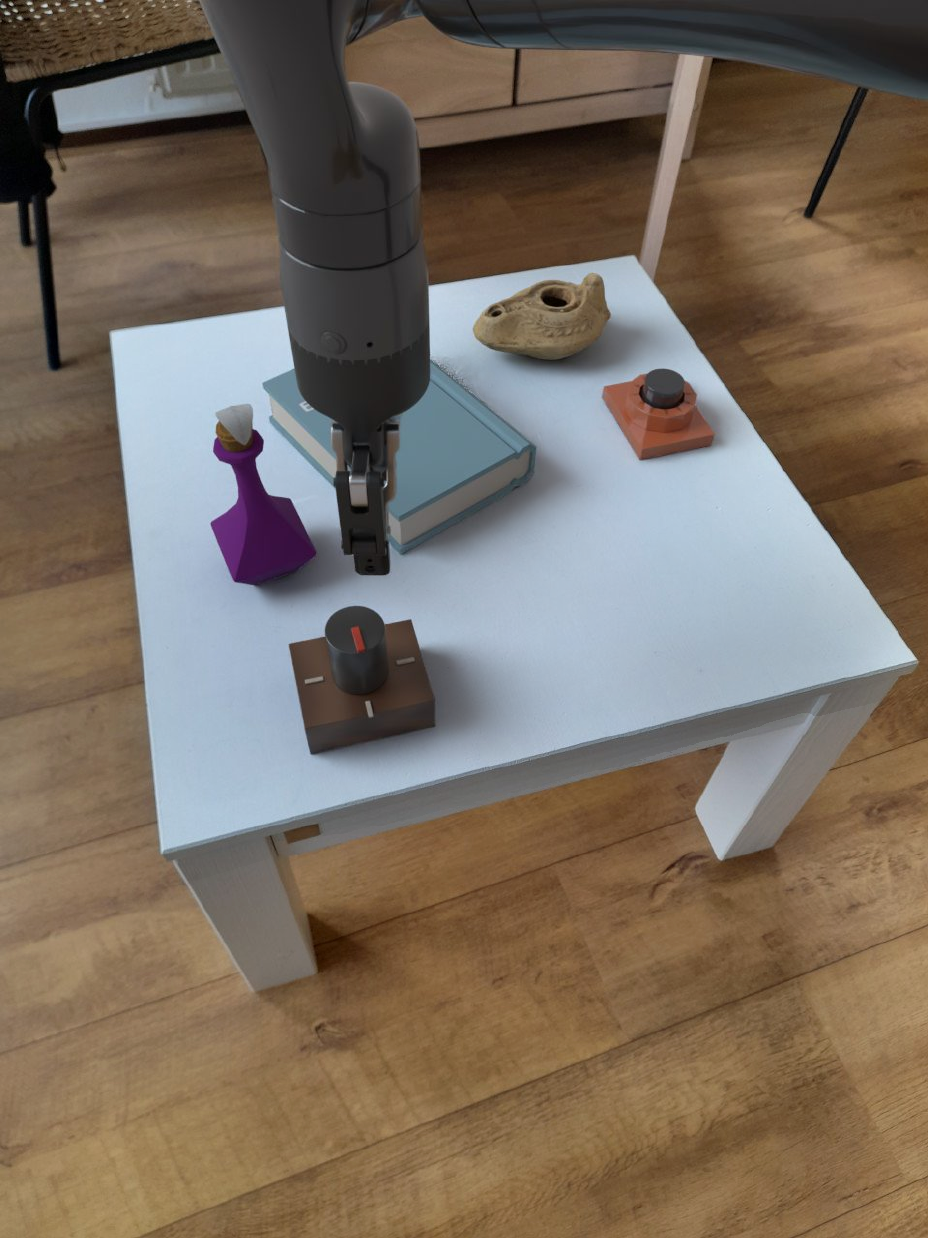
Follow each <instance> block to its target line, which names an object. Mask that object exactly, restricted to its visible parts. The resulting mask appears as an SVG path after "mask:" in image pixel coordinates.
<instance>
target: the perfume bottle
mask: <svg viewBox="0 0 928 1238" xmlns="http://www.w3.org/2000/svg"><path fill="white" fill-rule="evenodd" d="M253 410H254V409H253V406H252V405H251V404H250V403H242V404H236V405H230V406H228V407H225V408H223V409H219V410H218V411H215V415H214V416H215V417H216V418H217V420H218V421H217V423H216V424H215V431H214V432H215V435H216V438H215V439H214V441H213V447H212V452H213V454H214V455H215V457H216V458H217V459H218V461H219V462H222V463H224V464H227V465H230V466H231V468H232V471H233V473H234V477H235V481H236V485H237V500H236V502H235V504H234V505H232V507H230V508H229V509H228V510H227V511H226V512H224V513H223V514H221V515H220V516H218V517H216V518H214V519H213V520H211V522H210V527H211V530H212V532H213V535H214V538H215V541H216V542H217V545H218V547H219V550H220V552H221V554H222V557H223V559H224V562H225V564H226V568H227V569H228V571H229V574H230V577H231V578H232V581H233V582H234V583H237V584H243V585H249V586H258V585H260V584H263V583H267V582H270V581H272V580H276V579H278V578H281V577H285V576H288V575H290V574H294V573H297V572H298V571H299V570H300V569H302V568H303V567H304V566H305V565H307V564H308V563H309V562H310V561H312V560H313V559H314V558H316V557H317V556H318V552H317V550H316V547H315V546H314V544H313V542H312V540H311V538H310V536H309V534H308V532H307V530H306V527H305V525H304V523H303V522H302V520H301V516H300V515H299V513H298V511H297V508H296V506H295V505H294V503H293V501H292V499H291V498H289V497H285V496H284V497H283V496H276V495H272V494H269V493H268V492H267V490H266V489H265V487H264V486H265V485H264V484H263V481H262V478H261V476H260V474H259V472H258V467H257V460H256V459H257V458H258V457H259V456H260V455H261V454H262V453H263V452H264V446H265V445H264V444H265V440H264V438H263V436H262V435H261V434H260V432H259V431H258V430H257V429H254V426H253V419H254V411H253Z"/></svg>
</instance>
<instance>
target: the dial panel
mask: <svg viewBox="0 0 928 1238" xmlns="http://www.w3.org/2000/svg"><path fill="white" fill-rule="evenodd" d="M384 625H385V634H386V646H387V658H388V675H387V678H386V680H385V682H384V683H383V684H382V685H381V686H380V687H379V688H378V689H376V690H374V691H372V692H370V693H367V694H351V693H348V692H345V691H343V690H342V689H340V688H339V687H338V686H337V685H336V684H335V682H334V680H333V678H332V673H331V667H330V661H329V656H328V650H327V644H326V638H325V636H321V637H315V638H311V639H306V640H300V641H295V642H292V643H288V649H289V650H288V651H289V656H290V659H291V660H290V661H291V665H292V670H293V676H294V681H295V686H296V692H297V697H298V702H299V708H300V712H301V717H302V724H303V728H304V732H305V737H306V741H307V745H308V749H309V750H308V751H309V753H310V755H314V754H318V753H323V752H328V751H332V750H337V749H342V748H345V747H350V746H355V745H358V744H359V745H360V744H364V743H368V742H373V741H377V740H382V739H386V738H390V737H395V736H399V735H403V734H408V733H413V732H417V731H421V730H426V729H430V728H434V727H436V699H435V695H434V692H433V689H432V685H431V681H430V678H429V675H428V671H427V669H426V665H425V661H424V658H423V654H422V651H421V648H420V644H419V641H418V637H417V633H416V631H415V627H414V625H413V620H412V618H411V619H409V618H408V619H405V620H400V621H396V622H390V623H384Z"/></svg>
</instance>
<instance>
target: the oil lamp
mask: <svg viewBox="0 0 928 1238" xmlns="http://www.w3.org/2000/svg"><path fill="white" fill-rule="evenodd" d="M605 287H606V286H605V283H604V279H603V277H602V276H601V275H600V274H598V273H596V272H590V273H588V274H587V275H586V276H585V277H584V278H583V279H582V281H581V283H580V284H576V283H573V282H571V281H564V280H560V279H545V280H542V281H538V282H536V283H534V284H532V285H530V286H528V287H526V288H524V289H521V290H519V291H517V292H515V293H514V294H513V295H511V296H510V297H507V298H504V299H502V300H500V301H498V302H494V303H492V304H490V305H488V306H487V307H486V308H485V309H484V310H483V311H482V312H481V314H480V315H479V316H478V318H477V319H476V321H475V322H474V324H473V326H472V332H473V335H474V338H475V339H476V340H477V341H479V342H480V343H481V345H483V346H485V347H486V348H488V349H490V350H493V351H495V352H500V353H509V354H518V355H526V356H529V357H533V358H535V359H538V360H550V361H553V360H561V359H564V358H568V357H570V356H572V355H575V354H578V353H579V352H581V351H583V350H584V349H586V348H587V347H589V346H591V345H592V344H593V343H595V342H596V341H597V340H598V339H599V338H600V337H601V335H602V334H603V332H604V329H605V327H606V323H608V321H609V320H610V319H611V316H612V313H611V311H610V309H609V307H608V302H607V299H606V289H605Z"/></svg>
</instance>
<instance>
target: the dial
mask: <svg viewBox="0 0 928 1238" xmlns="http://www.w3.org/2000/svg"><path fill="white" fill-rule="evenodd" d="M384 624H385V621H384V620H383V618H382V616H381V615H380V614H379V613H378V612H377V611H375V610H374V609H372V608H370V607H368V606H364V605H350V606H346V607H343V608H340V609H338V610H337V611H335V612H334V613H333V614H332V615H331V616H330V617H329V618H328V619H327V621H326V624H325V626H324V637H325V638H326V644H327V650H328V656H329V661H330V667H331V673H332V678H333V680H334V682H335V684H336V685H337V686H338V687H339V688H340V689H342V690H343V691H345V692H348V693H351V694H367V693H370V692H372V691H374V690H376V689H378V688H379V687H380V686H381V685H382V684H383V683H384V682H385V680H386V678H387V675H388V658H387V646H386V634H385V625H384Z"/></svg>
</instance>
